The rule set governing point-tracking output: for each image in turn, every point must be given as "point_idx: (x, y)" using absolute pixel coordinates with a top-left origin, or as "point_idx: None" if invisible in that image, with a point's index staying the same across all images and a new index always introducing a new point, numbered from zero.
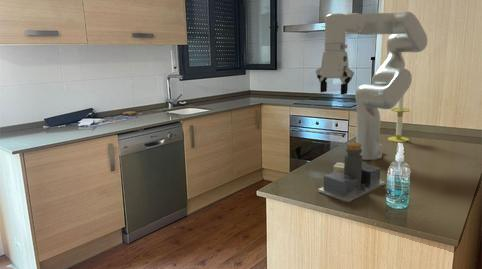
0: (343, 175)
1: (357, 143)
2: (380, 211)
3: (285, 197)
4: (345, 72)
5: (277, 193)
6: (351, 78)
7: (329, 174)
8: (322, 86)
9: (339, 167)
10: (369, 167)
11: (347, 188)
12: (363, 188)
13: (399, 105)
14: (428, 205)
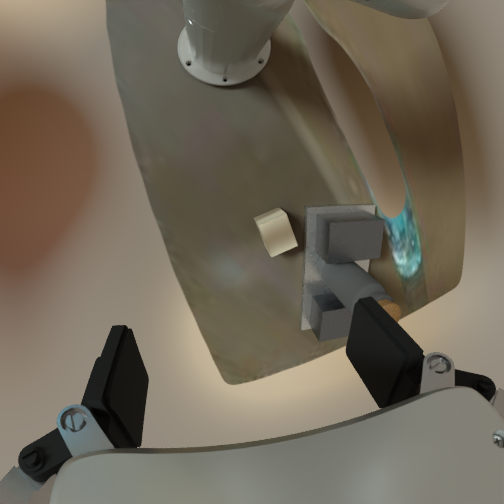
0: (347, 313)
1: (391, 311)
2: (400, 298)
3: (275, 373)
4: (468, 441)
5: (254, 375)
6: (486, 386)
7: (323, 330)
8: (141, 413)
9: (287, 249)
10: (366, 234)
11: None
12: (360, 266)
13: None
14: (438, 230)
